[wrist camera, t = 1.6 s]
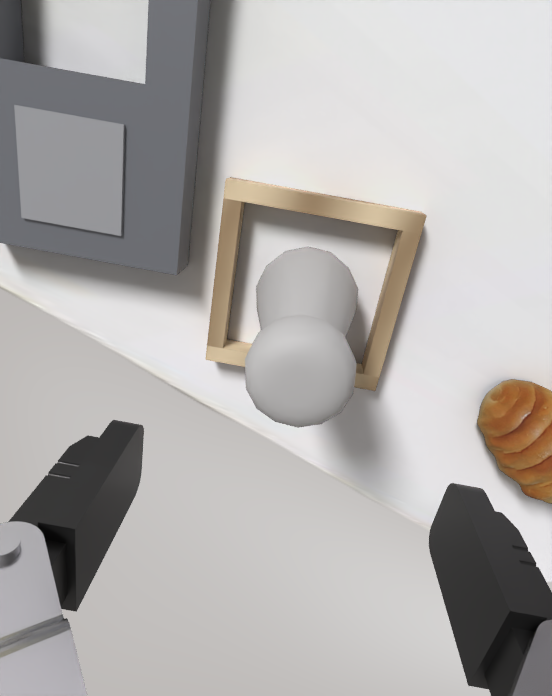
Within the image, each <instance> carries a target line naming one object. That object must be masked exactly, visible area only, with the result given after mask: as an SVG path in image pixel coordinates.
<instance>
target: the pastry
mask: <svg viewBox="0 0 552 696" xmlns="http://www.w3.org/2000/svg"><path fill="white" fill-rule="evenodd" d="M477 424H478V426H479V428H480V430H481V432H482V433H483V435H484V437H485V442H486V445H487V447H488V449H489V450H490V451H491V452H492V453H493V455H494V456H495V458H496V461H497V465H498V467H499V469H500V471H502V472H503V473H504V474H506V475H507V476H509V477H510V478H512V479H513V480H514V481H516V482H517V483H518V484H519V485H520V487H521V489H522V491H523V493H524V494H525V495H527V496H529V497H532V498H535V499H538V500H543V501H544V502H547V503H550V504H552V391H550V390H548V389H546V388H544V387H542V386H540V385H537V384H535V383H532V382H528V381H520V380H515V379H511V380H507V381H503V382H501V383H500V384H499V385H497V386H496V387H494V388H493V389H492V390H490V391H489V392H488V393H487V394H486V396H485V398H484V399H483V401H482V403H481V406H480V411H479V416H478V420H477Z"/></svg>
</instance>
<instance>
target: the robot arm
mask: <svg viewBox="0 0 552 696" xmlns="http://www.w3.org/2000/svg"><path fill="white" fill-rule="evenodd" d="M143 435H144V429H143V426H142V425H139V424H133V423H128V422H122V421H117V420H113V421H112V422H111V423H110V424H109V425H108V427H107V428H106V430H105V431H104V432H103V434H102V435H101V436H100V438H98V437H93V436H86V437H85V438H83V439H81V440H80V441H78V442H77V443H75V444H73V445H71V446H70V447H69V448H68V449H67V450H66V452H65V453H64V454H63V455H62V456H61V458H60V459H59V460H58V463H57V464H55V465H54V466H53V468H52V469H51V470H50V471H49V473H48V476H45V477H44V479H43V480H42V481H41V482H40V484H39V485H38V486H37V488H36V489H35V490H34V491H33V492H32V494H31V495H30V496H29V497H28V498H27V500H26V501H25V502H24V503H23V505H22V506H21V507H20V508H19V510H18V511H17V512H16V513H15V514H14V516H13V517H12V518H11V519H10V521H9V522H5V523H1V524H0V696H87V692H86V688H85V684H84V680H83V676H82V672H81V668H80V664H79V659H78V655H77V651H76V647H75V643H74V640H73V635H72V631H71V628H70V624H69V622H68V619H64V618H63V614H62V610H61V609H66V610H71V611H77V609H78V607H79V605H80V603H81V602H82V599H83V598H84V595H85V594H86V592H87V590H88V588H89V586H90V584H91V582H92V580H93V578H94V576H95V574H96V572H97V570H98V568H99V566H100V564H101V562H102V560H103V558H104V556H105V554H106V552H107V550H108V548H109V546H110V544H111V542H112V541H113V539H114V537H115V535H116V532H117V531H118V529H119V527H120V525H121V523H122V521H123V519H124V517H125V515H126V513H127V511H128V509H129V507H130V505H131V503H132V501H133V499H134V497H135V495H136V492H137V489H138V486H139V483H140V478H141V469H142V452H143ZM429 549H430V554H431V557H432V561H433V564H434V568H435V571H436V575H437V578H438V582H439V585H440V589H441V592H442V596H443V599H444V603H445V606H446V610H447V613H448V616H449V620H450V623H451V627H452V630H453V634H454V637H455V641H456V644H457V648H458V651H459V655H460V658H461V662H462V665H463V668H464V672H465V675H466V679H467V683H468V685H469V686H474V687H479V688H485V689H489V690H490V693H491V696H552V592H551V590H550V588H549V586H548V585H547V583H546V581H545V579H544V577H543V575H542V573H541V571H540V570H539V568H538V567H536V562H535V560H534V558H533V556H532V555H531V553H530V552H528V547H527V545H526V543H525V541H524V540H523V538H522V536H521V534H520V532H519V530H518V529H517V528H516V527H515V526H514V525H513V524H512V523H511V522H510V521H509V520H508V519H507V518H506V517H505V516H504V515H503V513H500V512H495V511H494V509H493V507H492V505H491V503H490V501H489V499H488V497H487V495H486V493H485V491H484V490H483V489H481V488H476V487H471V486H465V485H460V484H454V483H451V484H450V485H449V486H448V487H447V489H446V492H445V494H444V497H443V499H442V501H441V504H440V506H439V509H438V511H437V514H436V516H435V519H434V521H433V524H432V526H431V529H430V535H429Z"/></svg>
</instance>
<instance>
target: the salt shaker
mask: <svg viewBox="0 0 552 696" xmlns="http://www.w3.org/2000/svg"><path fill="white" fill-rule="evenodd" d="M256 293H257V312H258V317H259V322H260V327H261V331H260V332H259V333H258V334H257V336H256V338H255V340H254V342H253V344H252V346H251V348H250V350H249V351H248V353H247V356H246V358H245V374H246V390H247V391H248V393H249V395H250V397H251V399H252V401H253V403H254V404H255V406H256V408H257V409H258V410H260V411H261V412H262V413H264V414H265V415H267V416H268V417H269V418H271V419H272V420H274V421H275V422H279V423H282V424H286V425H290V426H294V427H304V426H311V425H318V424H322V423H324V422H325V421H327V420H329V419H330V418H332V417H334V416H336V415H337V414H339V413H341V411H342V410H343V408H344V407H345V405H346V404H347V402H348V400H349V399H350V397H351V396H352V394H353V390H354V385H355V375H356V365H357V363H356V360H355V357H354V355H353V353H352V351H351V348H350V346H349V344H348V342H347V340H346V338H345V337H346V335H347V332H348V330H349V327H350V325H351V322H352V320H353V317H354V315H355V312H356V306H357V296H358V287H357V285H356V283H355V281H354V278H353V276H352V274H351V272H350V269H349V268H348V267H347V266H346V265H345V264H344V263H343V262H341V261H340V260H339V259H338V258H337V257H336V256H335V255H333V254H332V253H331V252H328V251H324V250H320V249H316V248H312V247H304V248H299V249H293V250H288V251H285V252H284V253H283V254H281V255H280V256H279V257H277V258H276V259H275V260H274V261H272V262H271V263H270V264H268V265H267V266H266V268H265V270H264V272H263V274H262V276H261V278H260V280H259V282H258V284H257V286H256Z"/></svg>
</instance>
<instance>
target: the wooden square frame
mask: <svg viewBox="0 0 552 696" xmlns="http://www.w3.org/2000/svg"><path fill="white" fill-rule="evenodd" d="M245 202H247V203H253V204H258V205H264V206H269V207H275V208H280V209H286V210H291V211H297V212H302V213H308V214H313V215H319V216H324V217H330V218H335V219H341V220H346V221H352V222H357V223H363V224H368V225H374V226H379V227H385V228H390V229H396V230H398V231H397V235H396V238H395V242H394V246H393V249H392V253H391V257H390V260H389V264H388V268H387V272H386V275H385V279H384V283H383V286H382V290H381V294H380V297H379V301H378V305H377V309H376V312H375V316H374V320H373V323H372V327H371V331H370V335H369V338H368V342H367V346H366V349H365V353H364V357H363V360H362V364H359V363H357V365H356V375H355V385H354V387H356V388H362V389H367V390H372V391H375V390H376V387H377V384H378V380H379V377H380V373H381V370H382V366H383V363H384V360H385V356H386V353H387V349H388V346H389V342H390V339H391V336H392V332H393V329H394V325H395V322H396V318H397V315H398V312H399V308H400V305H401V301H402V298H403V294H404V291H405V288H406V284H407V281H408V277H409V274H410V271H411V267H412V264H413V260H414V257H415V253H416V250H417V247H418V243H419V240H420V236H421V233H422V229H423V226H424V223H425V219H426V215H425V214H423V213H422V212H419V211H414V210H408V209H403V208H397V207H392V206H386V205H380V204H375V203H369V202H364V201H358V200H353V199H347V198H342V197H336V196H331V195H325V194H320V193H314V192H309V191H303V190H298V189H292V188H287V187H281V186H276V185H270V184H265V183H259V182H254V181H248V180H243V179H237V178H232V177H230V178H227V179H226V181H225V190H224V199H223V208H222V217H221V226H220V235H219V244H218V253H217V262H216V270H215V279H214V288H213V297H212V306H211V315H210V324H209V333H208V342H207V351H206V360H210V361H215V362H221V363H226V364H232V365H237V366H243V367H245V358H246V356H247V353H248V351H249V350H250V348H251V346H252V344H250V343H245V342H239V341H234V340H228V339H227V335H228V328H229V320H230V312H231V305H232V297H233V289H234V282H235V274H236V266H237V259H238V251H239V243H240V236H241V228H242V220H243V213H244V205H245Z"/></svg>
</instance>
